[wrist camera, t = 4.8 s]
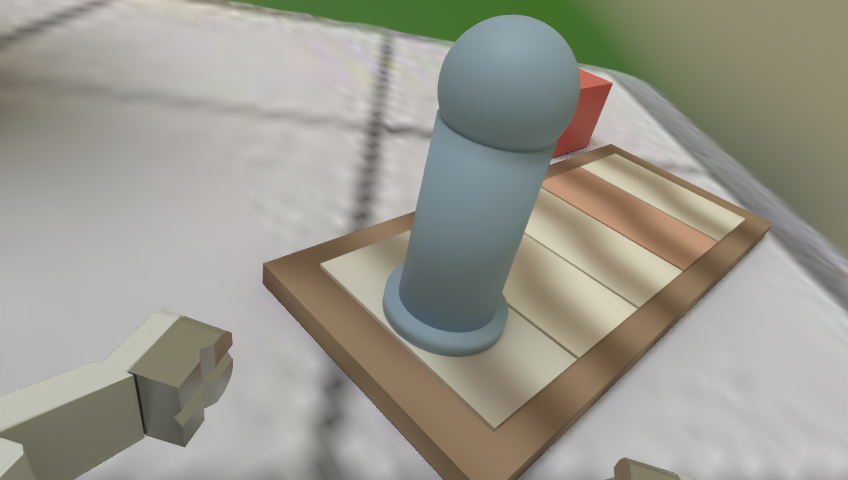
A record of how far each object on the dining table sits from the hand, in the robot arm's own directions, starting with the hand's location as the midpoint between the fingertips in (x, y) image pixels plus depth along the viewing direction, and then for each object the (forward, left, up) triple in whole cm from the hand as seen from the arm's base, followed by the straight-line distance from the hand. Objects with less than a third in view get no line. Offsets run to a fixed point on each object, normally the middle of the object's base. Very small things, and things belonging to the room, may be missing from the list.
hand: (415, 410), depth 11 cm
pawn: (+9, +6, -7) cm, 13 cm away
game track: (+21, +6, -8) cm, 24 cm away
